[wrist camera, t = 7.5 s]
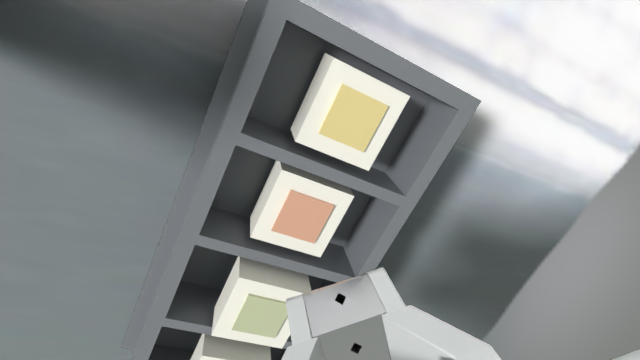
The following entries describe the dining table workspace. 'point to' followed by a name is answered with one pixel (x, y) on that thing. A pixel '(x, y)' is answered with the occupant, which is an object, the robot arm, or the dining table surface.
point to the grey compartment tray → (278, 144)
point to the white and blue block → (229, 349)
